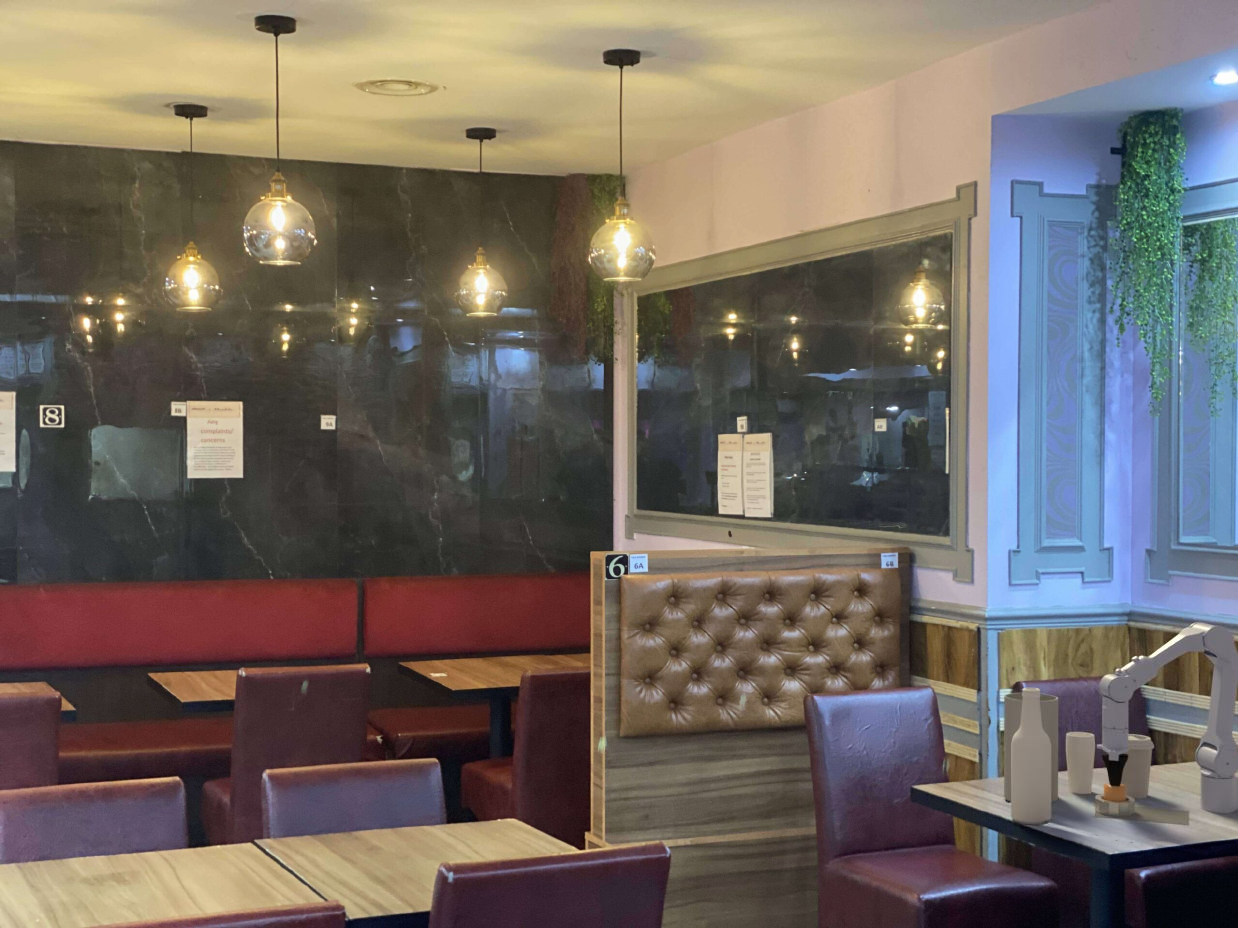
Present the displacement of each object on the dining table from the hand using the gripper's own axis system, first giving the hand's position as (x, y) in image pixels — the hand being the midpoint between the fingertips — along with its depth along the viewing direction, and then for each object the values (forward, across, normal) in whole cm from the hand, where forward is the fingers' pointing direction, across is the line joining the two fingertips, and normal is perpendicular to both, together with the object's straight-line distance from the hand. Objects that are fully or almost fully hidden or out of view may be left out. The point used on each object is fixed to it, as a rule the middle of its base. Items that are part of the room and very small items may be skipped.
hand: (1115, 785), depth 331 cm
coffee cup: (+7, -19, +3) cm, 21 cm away
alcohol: (+7, +12, -18) cm, 22 cm away
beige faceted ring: (+6, 0, 0) cm, 6 cm away
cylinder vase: (+7, -8, -20) cm, 22 cm away
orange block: (+6, 0, 0) cm, 6 cm away
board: (+7, 0, +6) cm, 9 cm away
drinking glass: (+7, -18, -9) cm, 21 cm away
